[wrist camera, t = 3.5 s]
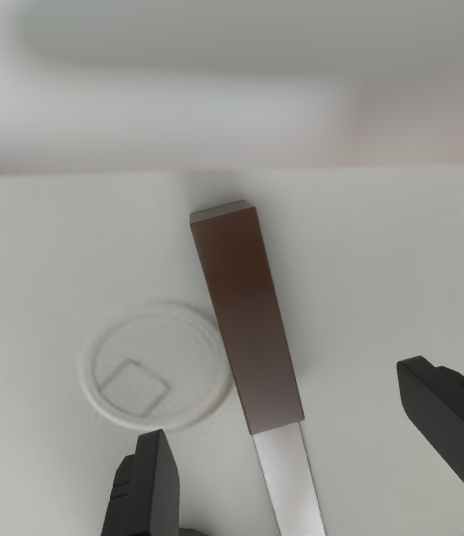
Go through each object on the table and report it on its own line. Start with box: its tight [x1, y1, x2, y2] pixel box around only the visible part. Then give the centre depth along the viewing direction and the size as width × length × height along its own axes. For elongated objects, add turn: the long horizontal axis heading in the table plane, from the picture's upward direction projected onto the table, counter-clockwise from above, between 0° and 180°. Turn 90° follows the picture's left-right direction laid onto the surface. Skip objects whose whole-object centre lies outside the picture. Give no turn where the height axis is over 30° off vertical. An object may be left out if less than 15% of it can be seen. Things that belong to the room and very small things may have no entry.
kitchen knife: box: [190, 200, 326, 536], centre depth 19 cm, size 3×22×3 cm, turn 14°
